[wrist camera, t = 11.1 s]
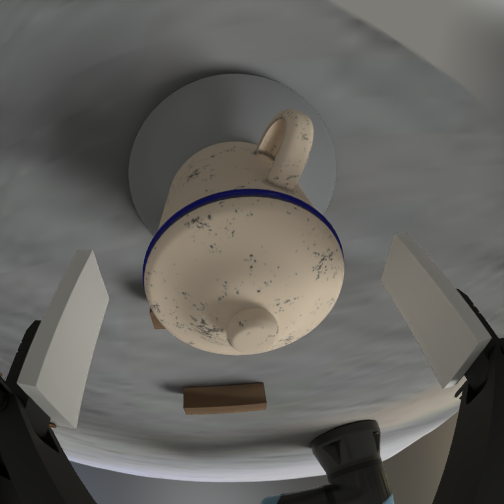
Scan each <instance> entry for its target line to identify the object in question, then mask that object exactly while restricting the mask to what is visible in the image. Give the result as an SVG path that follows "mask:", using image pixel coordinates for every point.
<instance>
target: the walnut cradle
mask: <svg viewBox="0 0 504 504" xmlns="http://www.w3.org/2000/svg"><path fill="white" fill-rule="evenodd" d="M150 315H151V319H152V322H153V325H154V328H155V329H166V328H165V327H164V326H163V325H162V324H161V323H160V322H159V320H158V319H157V317H156V316H155V315H154V313H153V311H152V309H151V307H150ZM266 405H267V402H266V396H265V390H264V384H263V383H254V384H243V385H229V386H212V387H185V388H184V405H183V408H184V411H185V413H186V415H192V414H219V413H234V412H247V411H257V410H266Z"/></svg>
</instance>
